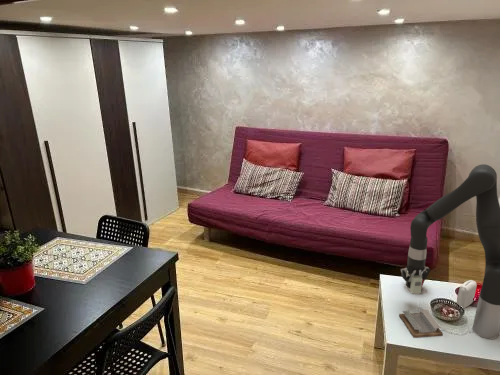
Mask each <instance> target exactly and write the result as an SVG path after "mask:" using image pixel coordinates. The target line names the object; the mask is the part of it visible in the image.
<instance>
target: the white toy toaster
mask: <svg viewBox="0 0 500 375" xmlns="http://www.w3.org/2000/svg"><path fill="white" fill-rule="evenodd" d="M477 285H478V284H477V282H476V281H475V280H473V279H470V280H467V281H465V282H464V283H462V284H461V285H460V286H459V290H458V294H457V298H456V302H455V303H457V304H459V305H460V306H462V307H463V308H462V309H465V308H467V307H469V306H470V305H472V304H473V303H474V300H473V298H474V299H475V294H476V290H477Z"/></svg>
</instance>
